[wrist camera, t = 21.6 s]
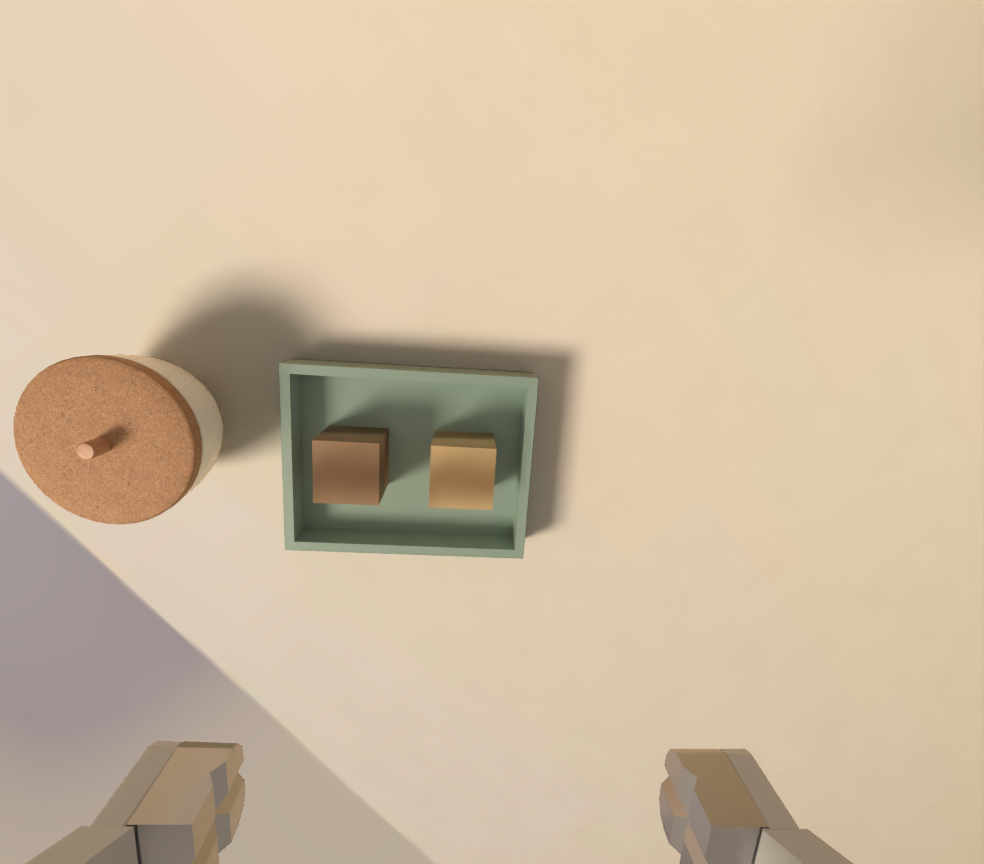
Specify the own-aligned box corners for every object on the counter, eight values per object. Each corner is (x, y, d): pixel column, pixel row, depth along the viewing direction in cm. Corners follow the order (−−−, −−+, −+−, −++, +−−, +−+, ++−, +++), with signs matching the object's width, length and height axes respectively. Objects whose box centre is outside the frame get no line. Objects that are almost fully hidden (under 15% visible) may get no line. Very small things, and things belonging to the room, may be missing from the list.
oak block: (435, 430, 39) (430, 445, 35) (493, 433, 40) (496, 448, 35) (432, 485, 41) (428, 507, 36) (489, 488, 41) (492, 510, 36)
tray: (293, 358, 38) (278, 363, 35) (533, 372, 39) (538, 378, 36) (298, 532, 42) (284, 550, 39) (519, 540, 43) (523, 558, 40)
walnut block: (329, 425, 39) (312, 440, 35) (389, 428, 39) (379, 443, 35) (329, 481, 40) (313, 502, 36) (388, 483, 40) (378, 505, 36)
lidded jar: (174, 316, 37) (79, 319, 28) (276, 430, 40) (219, 467, 30) (69, 404, 38) (-55, 435, 29) (174, 510, 41) (90, 569, 32)
